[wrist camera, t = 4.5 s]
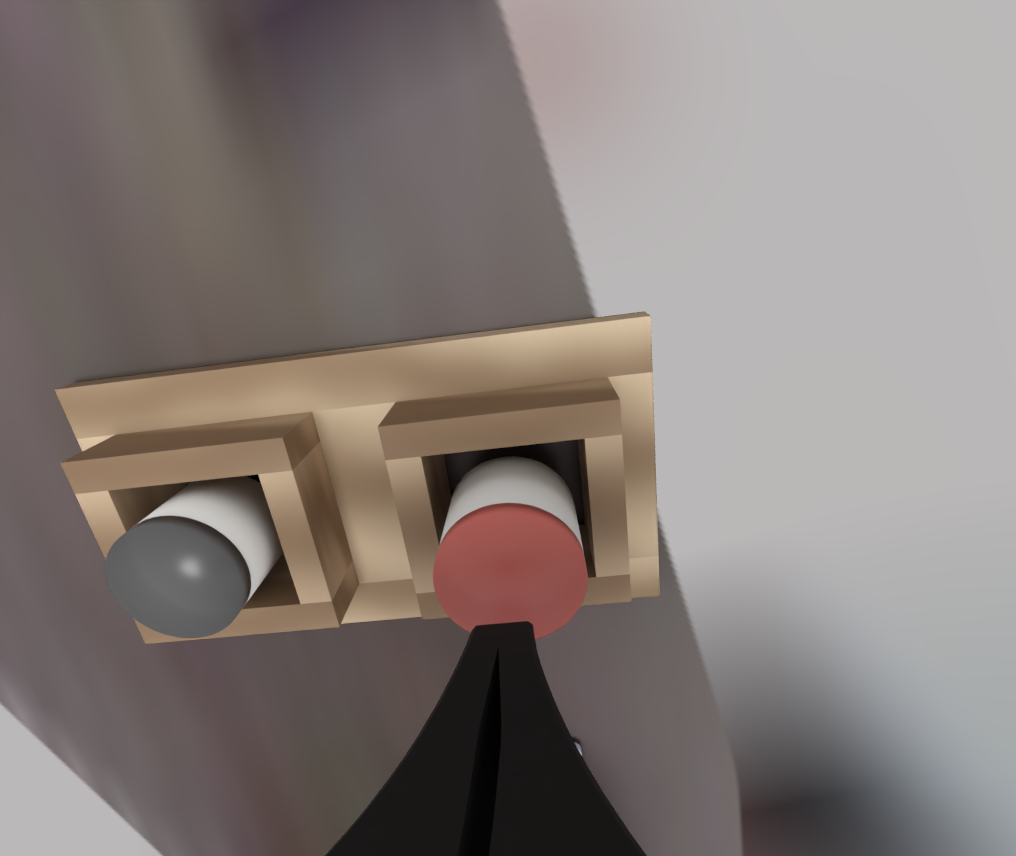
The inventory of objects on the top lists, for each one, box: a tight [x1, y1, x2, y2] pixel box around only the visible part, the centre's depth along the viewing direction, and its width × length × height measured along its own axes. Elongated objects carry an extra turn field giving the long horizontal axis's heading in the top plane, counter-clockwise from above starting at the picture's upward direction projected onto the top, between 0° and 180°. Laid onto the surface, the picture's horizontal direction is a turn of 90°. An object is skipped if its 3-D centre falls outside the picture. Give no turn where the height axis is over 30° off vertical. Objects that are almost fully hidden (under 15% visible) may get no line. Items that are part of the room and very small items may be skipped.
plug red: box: [433, 456, 588, 639], centre depth 17 cm, size 4×4×4 cm
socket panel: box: [55, 312, 660, 644], centre depth 20 cm, size 12×22×4 cm, turn 97°
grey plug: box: [105, 476, 284, 638], centre depth 19 cm, size 4×4×4 cm
